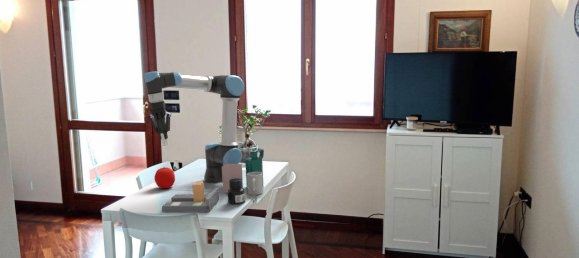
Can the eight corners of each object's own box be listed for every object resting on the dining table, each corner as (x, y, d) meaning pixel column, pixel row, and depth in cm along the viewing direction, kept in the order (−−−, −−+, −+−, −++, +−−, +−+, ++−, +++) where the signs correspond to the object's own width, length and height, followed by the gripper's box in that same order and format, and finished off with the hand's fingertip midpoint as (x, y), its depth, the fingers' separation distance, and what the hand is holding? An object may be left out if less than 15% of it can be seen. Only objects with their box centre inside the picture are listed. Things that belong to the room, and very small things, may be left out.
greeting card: (243, 189, 263) (242, 163, 260) (238, 193, 256) (237, 166, 253) (225, 188, 266) (223, 163, 264) (219, 192, 259) (218, 166, 257)
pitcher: (251, 189, 262) (249, 151, 258) (245, 186, 269) (243, 149, 266) (266, 187, 266) (265, 149, 263) (260, 183, 274) (259, 147, 270)
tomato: (167, 184, 279) (165, 164, 277) (180, 186, 273) (178, 166, 271) (150, 189, 269) (148, 168, 267) (163, 192, 263) (161, 170, 261)
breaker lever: (193, 204, 233) (192, 184, 231) (197, 200, 239) (196, 181, 237) (201, 203, 232) (200, 184, 231) (204, 200, 238) (203, 181, 237)
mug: (248, 190, 260) (247, 171, 258) (263, 190, 260) (262, 171, 258) (246, 197, 248) (245, 177, 247) (261, 196, 248) (260, 176, 246)
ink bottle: (239, 205, 233) (238, 182, 232) (224, 204, 237) (223, 181, 235) (248, 200, 242) (247, 178, 241) (233, 198, 246) (232, 177, 244)
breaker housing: (162, 212, 227) (161, 199, 226) (175, 199, 247) (174, 188, 246) (209, 212, 225) (209, 199, 224) (219, 199, 245) (218, 187, 244)
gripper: (141, 103, 238) (151, 147, 242) (164, 101, 234) (173, 145, 238) (149, 101, 245) (158, 144, 249) (171, 98, 241) (179, 142, 246)
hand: (165, 145), depth 244 cm, fingers closed
